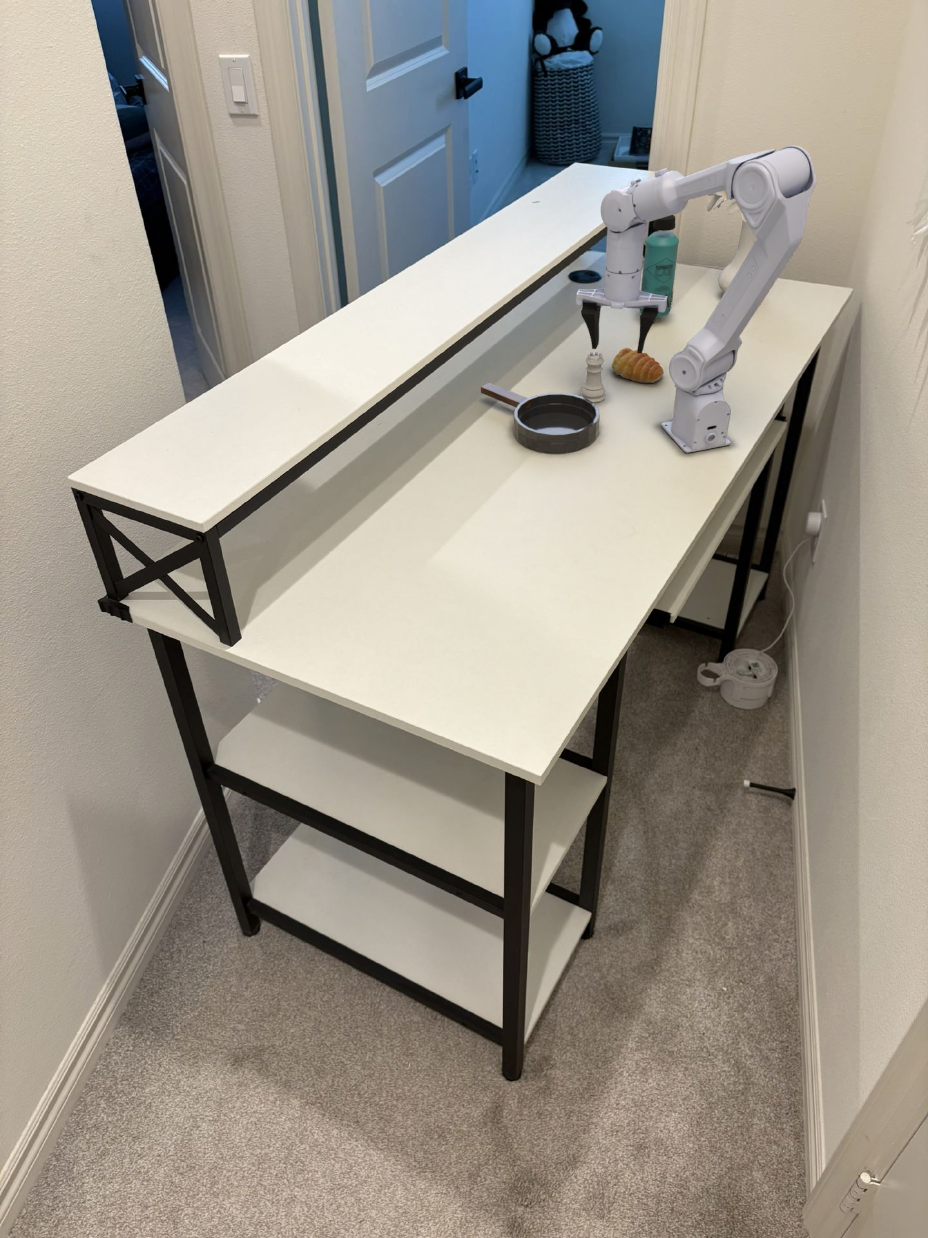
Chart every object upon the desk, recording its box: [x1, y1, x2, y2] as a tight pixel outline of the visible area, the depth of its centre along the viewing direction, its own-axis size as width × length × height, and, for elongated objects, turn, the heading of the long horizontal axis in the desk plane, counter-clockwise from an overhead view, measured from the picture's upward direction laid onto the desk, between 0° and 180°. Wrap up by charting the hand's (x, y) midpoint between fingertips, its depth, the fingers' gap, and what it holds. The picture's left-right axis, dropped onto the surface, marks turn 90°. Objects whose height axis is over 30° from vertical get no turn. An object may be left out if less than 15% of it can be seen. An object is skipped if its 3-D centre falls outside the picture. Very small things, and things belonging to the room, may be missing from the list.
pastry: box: [611, 347, 664, 384], centre depth 161 cm, size 9×7×4 cm
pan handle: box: [480, 382, 530, 409], centre depth 153 cm, size 10×2×1 cm, turn 45°
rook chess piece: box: [579, 351, 606, 404], centre depth 154 cm, size 4×4×8 cm
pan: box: [513, 392, 601, 454], centre depth 148 cm, size 14×14×4 cm
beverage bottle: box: [639, 214, 680, 318], centre depth 174 cm, size 6×7×20 cm
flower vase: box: [706, 191, 757, 295], centre depth 179 cm, size 13×18×25 cm
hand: (617, 348), depth 150 cm, fingers open, 7 cm apart
